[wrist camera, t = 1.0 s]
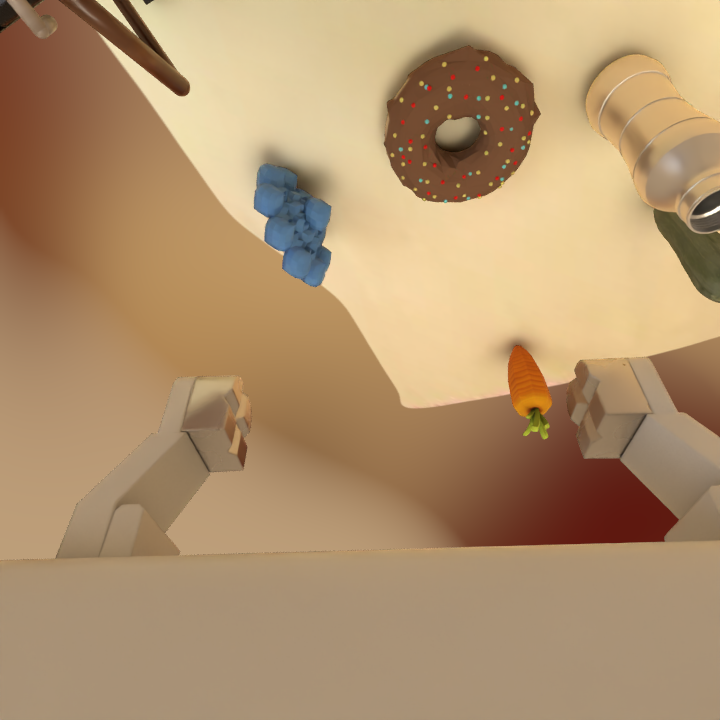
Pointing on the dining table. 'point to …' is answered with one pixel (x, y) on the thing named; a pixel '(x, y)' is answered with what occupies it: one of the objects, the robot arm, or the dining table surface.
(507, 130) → the donut
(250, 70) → the dining table surface
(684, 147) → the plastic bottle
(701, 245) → the vegetable
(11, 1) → the hanger
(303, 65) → the dining table surface
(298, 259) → the grapes
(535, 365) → the carrot
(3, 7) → the rail
